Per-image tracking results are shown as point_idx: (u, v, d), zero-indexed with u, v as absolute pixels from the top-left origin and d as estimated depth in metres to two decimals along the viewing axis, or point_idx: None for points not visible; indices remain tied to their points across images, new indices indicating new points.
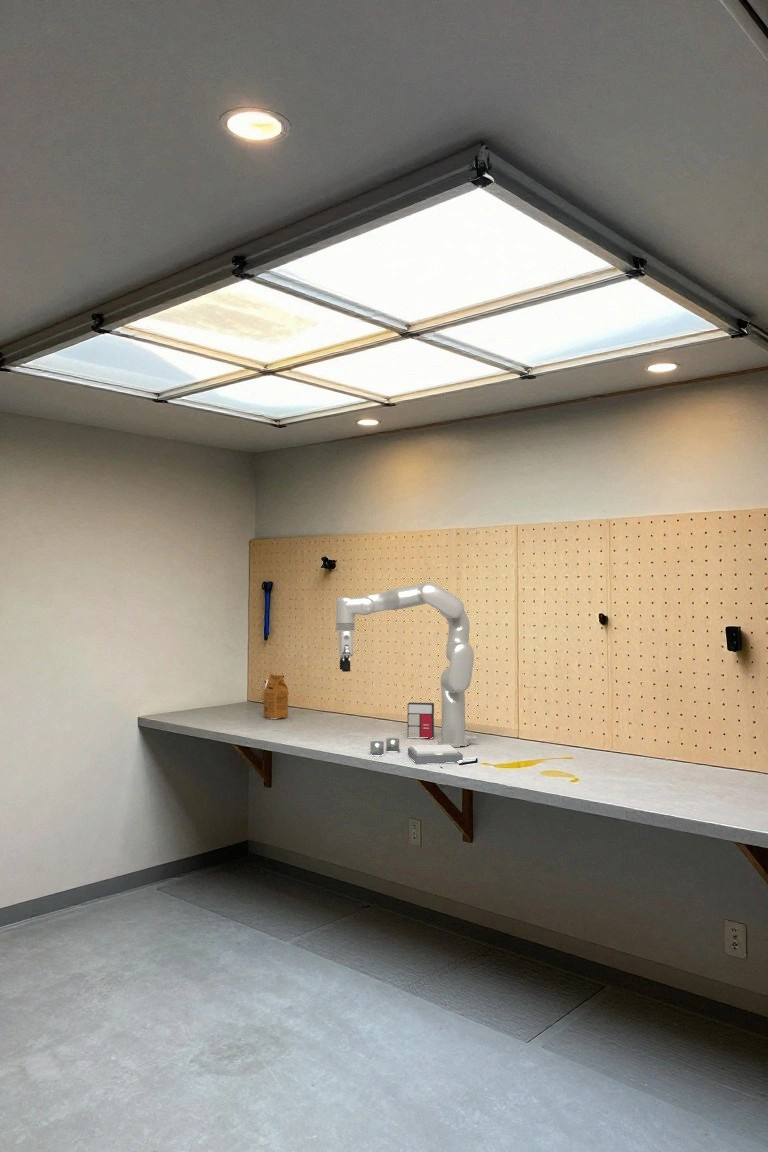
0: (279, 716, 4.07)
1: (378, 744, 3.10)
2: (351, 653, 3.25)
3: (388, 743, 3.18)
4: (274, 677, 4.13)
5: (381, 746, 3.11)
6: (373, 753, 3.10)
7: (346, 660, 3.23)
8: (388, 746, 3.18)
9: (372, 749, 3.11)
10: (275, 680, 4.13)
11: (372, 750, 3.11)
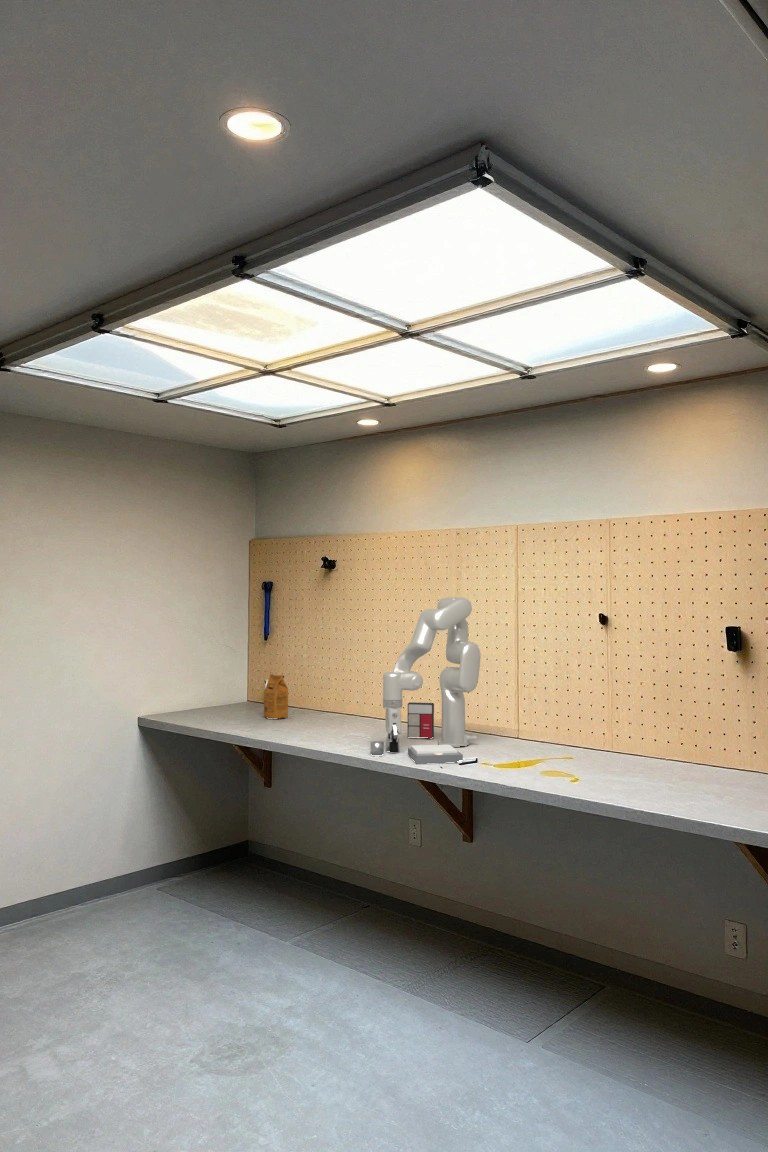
0: (279, 716, 4.07)
1: (378, 744, 3.10)
2: (399, 731, 3.15)
3: (388, 743, 3.18)
4: (274, 677, 4.13)
5: (381, 746, 3.11)
6: (373, 753, 3.10)
7: (394, 742, 3.15)
8: (388, 746, 3.18)
9: (372, 749, 3.11)
10: (275, 680, 4.13)
11: (372, 750, 3.11)
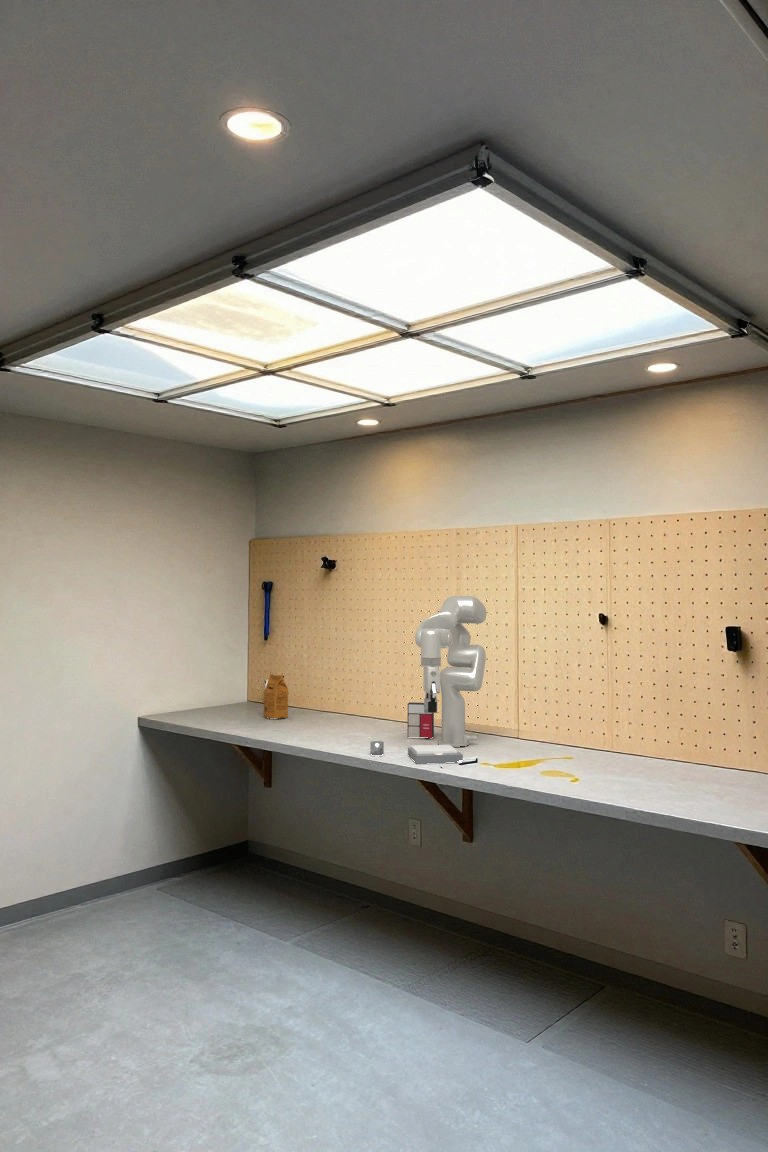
0: (279, 716, 4.07)
1: (378, 744, 3.10)
2: (438, 690, 3.04)
3: (426, 703, 3.06)
4: (274, 677, 4.13)
5: (381, 746, 3.11)
6: (373, 753, 3.10)
7: (432, 701, 3.04)
8: (426, 706, 3.06)
9: (372, 749, 3.11)
10: (275, 680, 4.13)
11: (372, 750, 3.11)
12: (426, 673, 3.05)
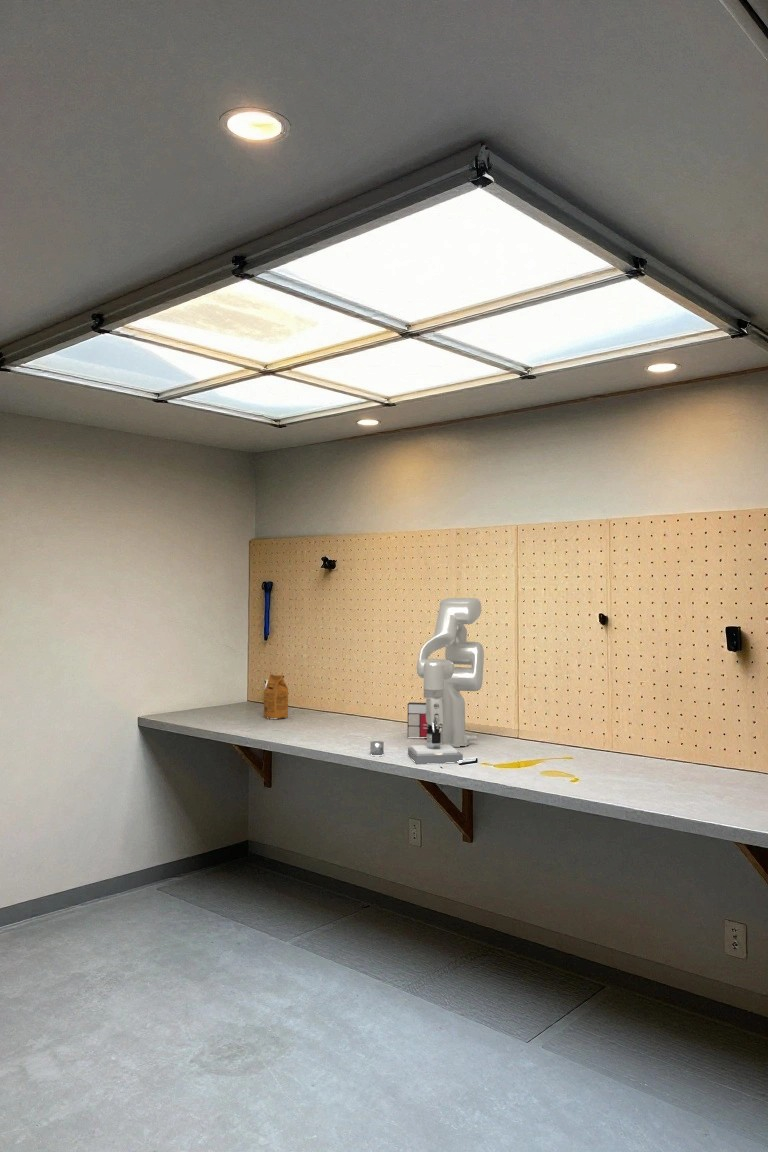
0: (279, 716, 4.07)
1: (378, 744, 3.10)
2: (441, 723, 3.02)
3: (429, 738, 3.05)
4: (274, 677, 4.13)
5: (381, 746, 3.11)
6: (373, 753, 3.10)
7: (436, 731, 3.01)
8: (429, 742, 3.05)
9: (372, 749, 3.11)
10: (275, 680, 4.13)
11: (372, 750, 3.11)
12: (429, 705, 3.04)
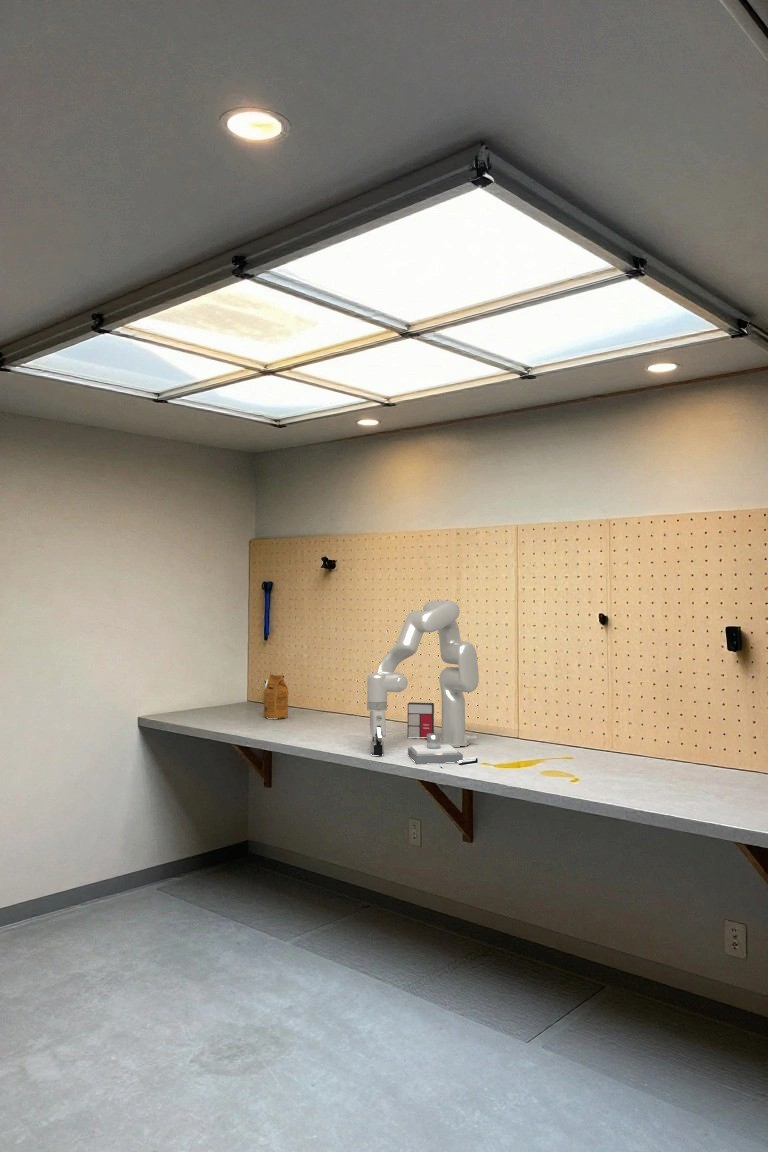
0: (279, 716, 4.07)
1: None
2: (384, 734, 3.08)
3: (429, 738, 3.05)
4: (274, 677, 4.13)
5: None
6: (373, 753, 3.10)
7: (378, 745, 3.08)
8: (429, 741, 3.05)
9: (372, 749, 3.11)
10: (275, 680, 4.13)
11: (372, 750, 3.11)
12: (372, 717, 3.10)
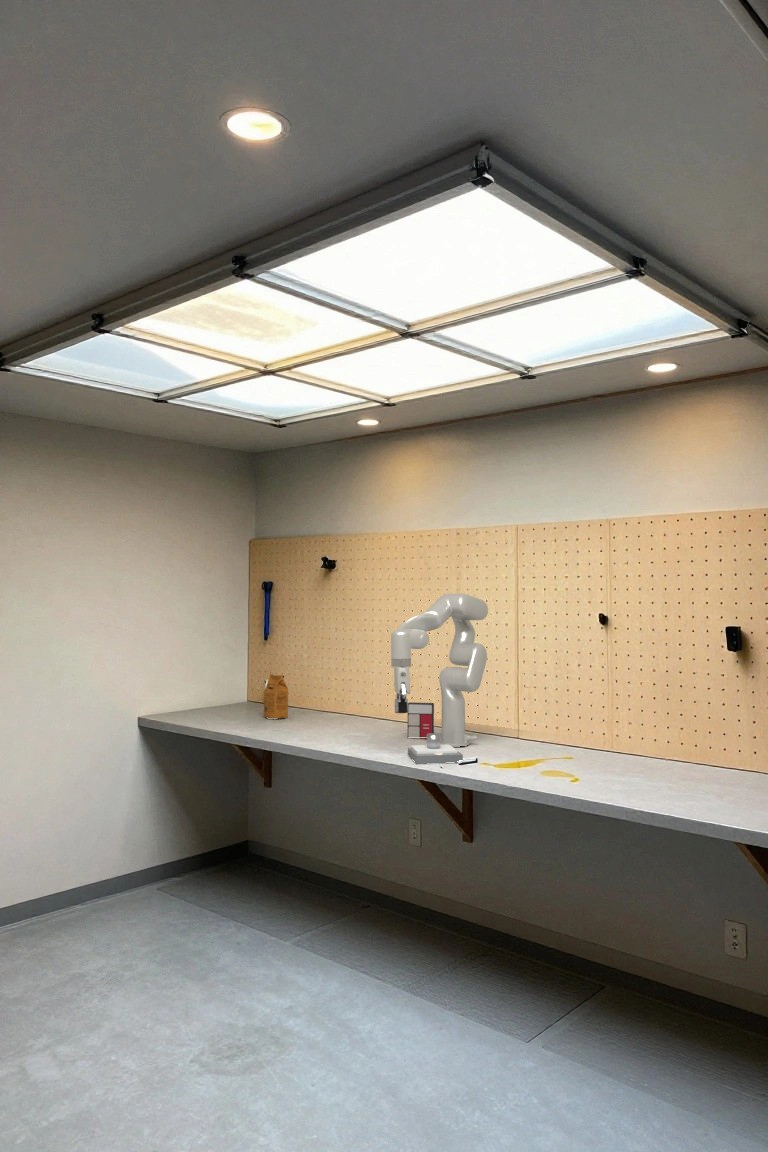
0: (279, 716, 4.07)
1: None
2: (408, 691, 3.06)
3: (429, 738, 3.05)
4: (274, 677, 4.13)
5: None
6: (397, 710, 3.09)
7: (402, 701, 3.07)
8: (429, 741, 3.05)
9: (396, 706, 3.09)
10: (275, 680, 4.13)
11: (396, 707, 3.09)
12: (396, 674, 3.08)
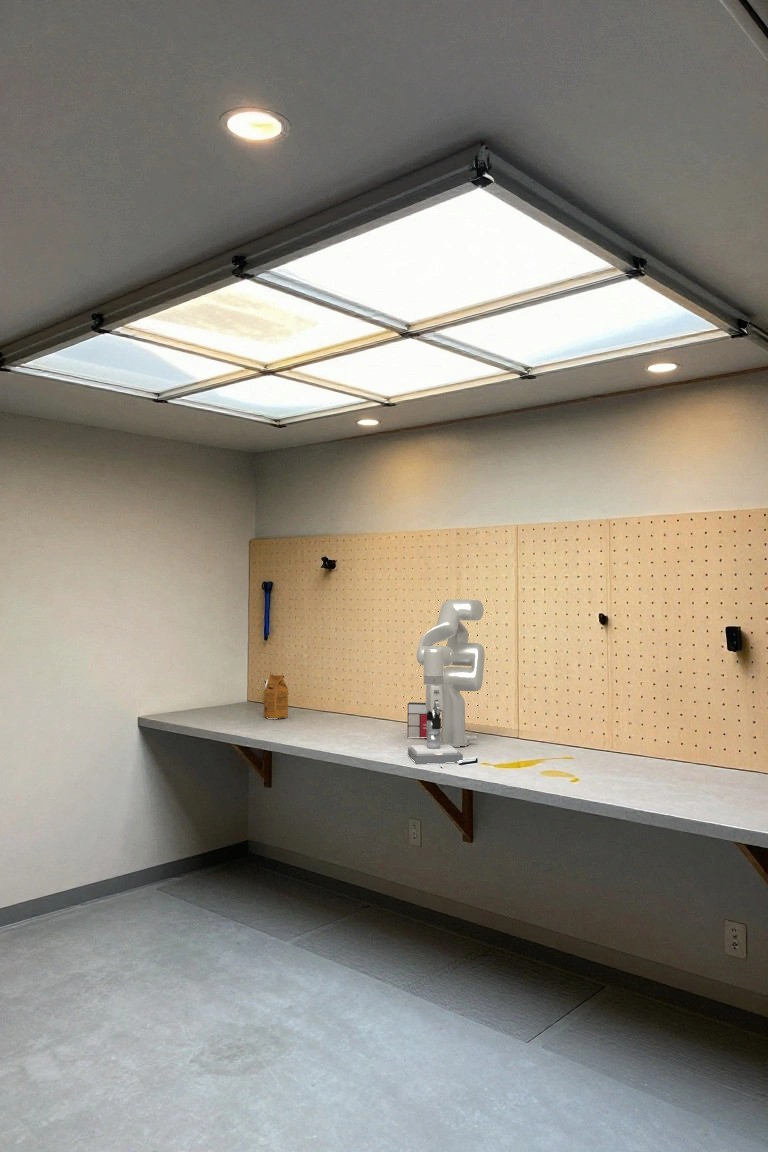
0: (279, 716, 4.07)
1: None
2: (441, 709, 3.03)
3: (428, 738, 3.05)
4: (274, 677, 4.13)
5: None
6: (430, 732, 3.05)
7: (437, 717, 3.01)
8: (428, 741, 3.05)
9: (429, 728, 3.05)
10: (275, 680, 4.13)
11: (429, 729, 3.05)
12: (429, 692, 3.04)
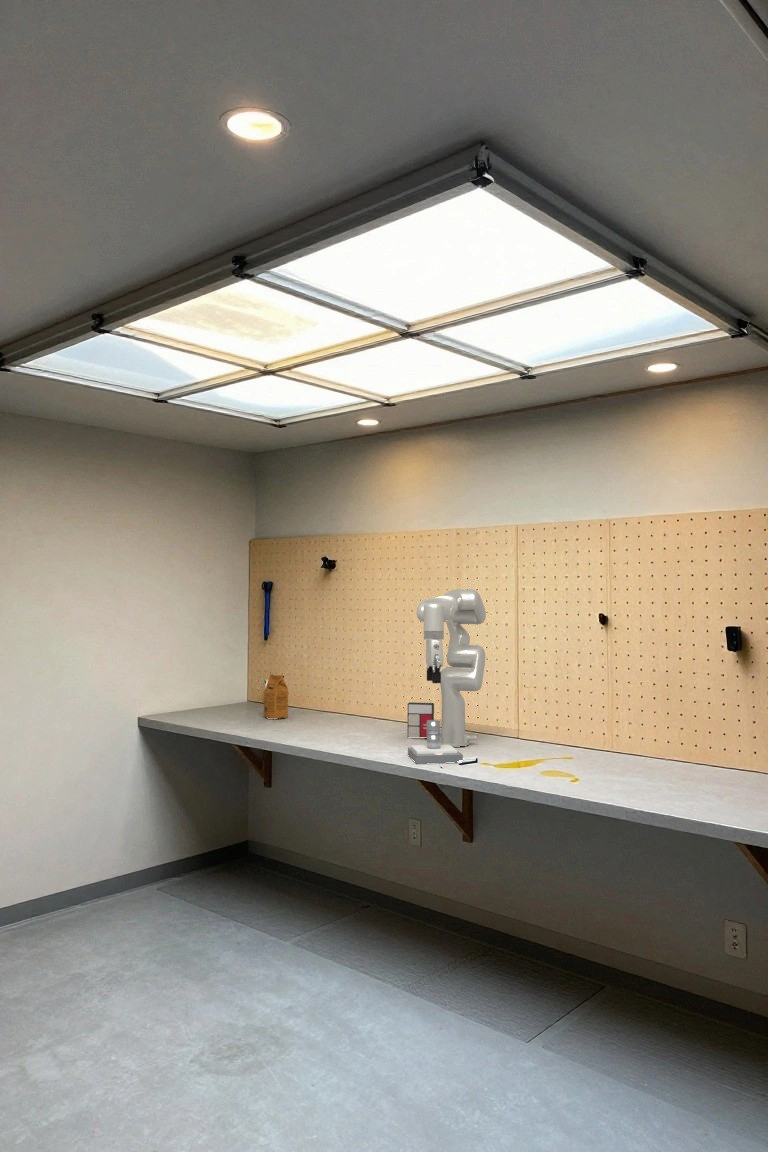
0: (279, 716, 4.07)
1: (435, 723, 3.05)
2: (441, 663, 3.03)
3: (429, 738, 3.05)
4: (274, 677, 4.13)
5: (438, 725, 3.05)
6: (430, 732, 3.05)
7: (437, 671, 3.01)
8: (429, 741, 3.05)
9: (429, 728, 3.05)
10: (275, 680, 4.13)
11: (429, 729, 3.05)
12: (429, 646, 3.05)
